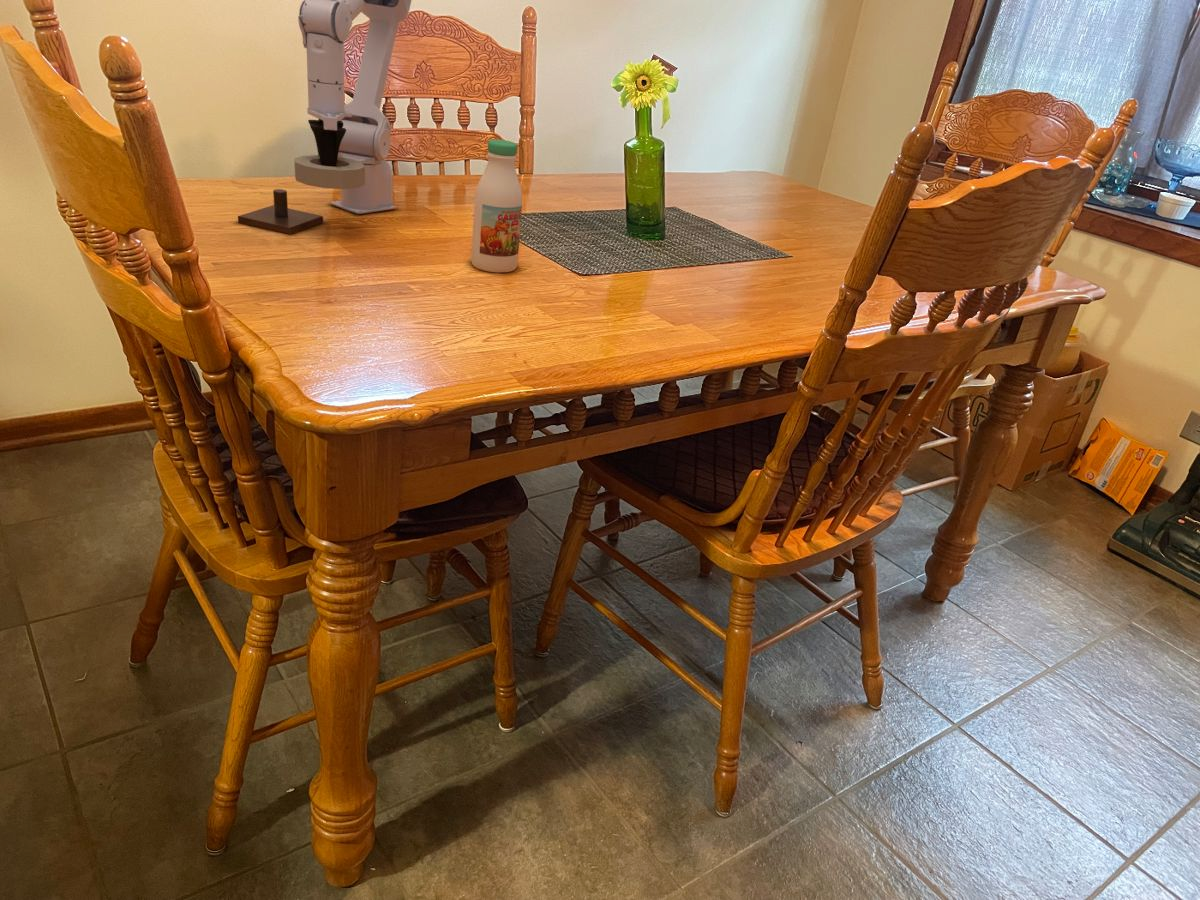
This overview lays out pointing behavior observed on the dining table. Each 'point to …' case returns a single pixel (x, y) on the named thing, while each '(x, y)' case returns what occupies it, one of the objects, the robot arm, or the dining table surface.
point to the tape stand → (280, 216)
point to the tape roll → (329, 173)
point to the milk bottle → (497, 211)
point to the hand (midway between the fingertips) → (327, 166)
